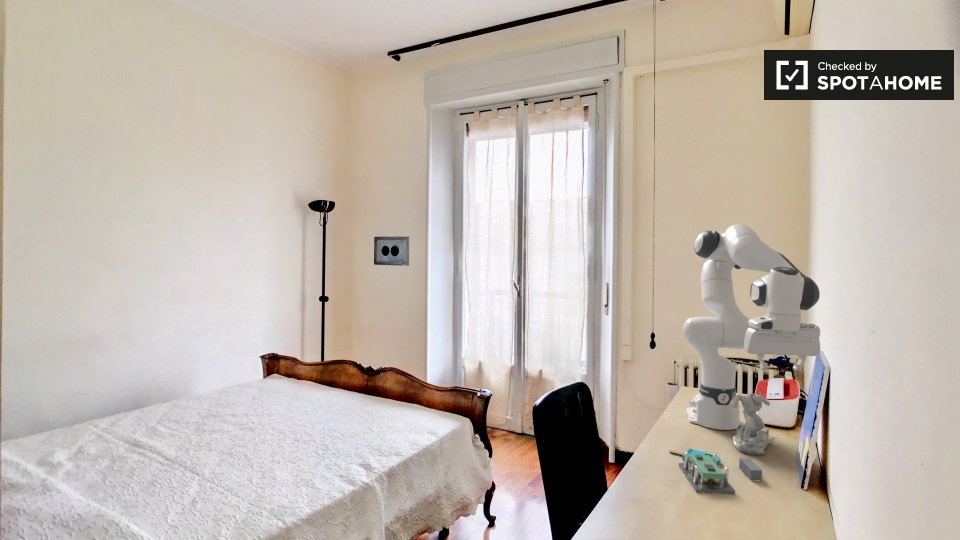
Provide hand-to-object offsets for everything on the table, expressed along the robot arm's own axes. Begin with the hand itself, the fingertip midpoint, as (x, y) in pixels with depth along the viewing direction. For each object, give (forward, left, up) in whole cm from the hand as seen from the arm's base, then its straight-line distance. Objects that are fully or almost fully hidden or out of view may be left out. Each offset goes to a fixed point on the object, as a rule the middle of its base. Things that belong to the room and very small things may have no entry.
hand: (780, 369), depth 154 cm
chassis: (+12, -24, -29) cm, 40 cm away
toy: (-2, -23, -30) cm, 38 cm away
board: (+12, -24, -26) cm, 37 cm away
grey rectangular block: (+7, -10, -29) cm, 32 cm away
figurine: (-14, -1, -29) cm, 33 cm away
